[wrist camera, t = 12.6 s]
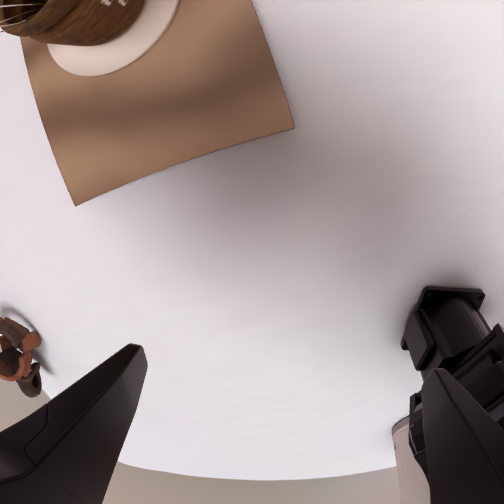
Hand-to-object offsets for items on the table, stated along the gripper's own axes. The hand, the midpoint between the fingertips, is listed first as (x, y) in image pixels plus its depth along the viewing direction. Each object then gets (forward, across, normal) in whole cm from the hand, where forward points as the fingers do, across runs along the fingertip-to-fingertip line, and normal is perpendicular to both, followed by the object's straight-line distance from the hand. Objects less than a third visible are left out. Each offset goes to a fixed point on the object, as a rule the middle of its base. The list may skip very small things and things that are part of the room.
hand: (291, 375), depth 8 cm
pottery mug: (+13, +32, +20) cm, 41 cm away
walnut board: (+13, +12, -14) cm, 23 cm away
